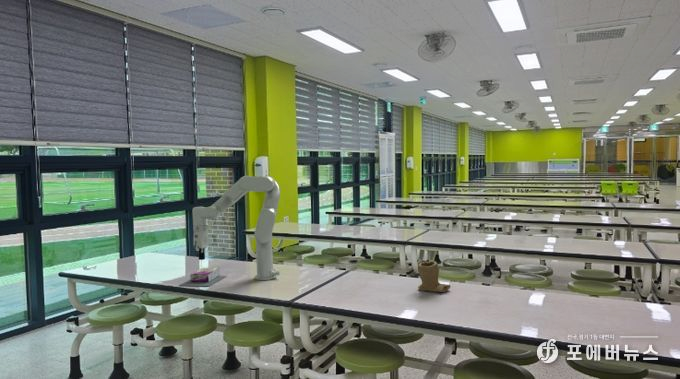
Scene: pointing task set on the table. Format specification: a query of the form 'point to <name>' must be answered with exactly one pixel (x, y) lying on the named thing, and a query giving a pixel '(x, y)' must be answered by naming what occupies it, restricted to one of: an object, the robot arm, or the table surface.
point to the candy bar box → (205, 274)
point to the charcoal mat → (203, 284)
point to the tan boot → (430, 277)
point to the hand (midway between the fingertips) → (201, 259)
